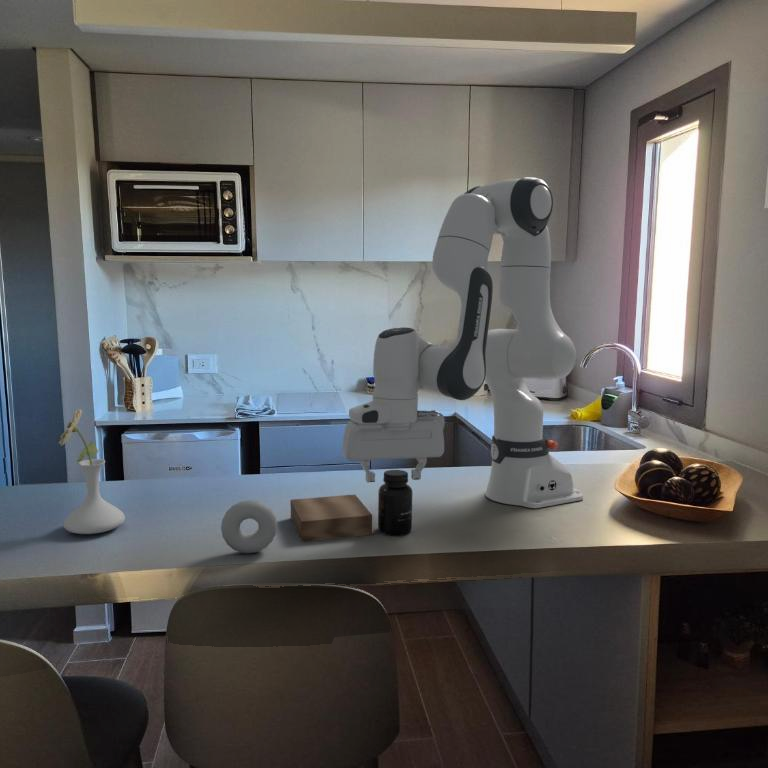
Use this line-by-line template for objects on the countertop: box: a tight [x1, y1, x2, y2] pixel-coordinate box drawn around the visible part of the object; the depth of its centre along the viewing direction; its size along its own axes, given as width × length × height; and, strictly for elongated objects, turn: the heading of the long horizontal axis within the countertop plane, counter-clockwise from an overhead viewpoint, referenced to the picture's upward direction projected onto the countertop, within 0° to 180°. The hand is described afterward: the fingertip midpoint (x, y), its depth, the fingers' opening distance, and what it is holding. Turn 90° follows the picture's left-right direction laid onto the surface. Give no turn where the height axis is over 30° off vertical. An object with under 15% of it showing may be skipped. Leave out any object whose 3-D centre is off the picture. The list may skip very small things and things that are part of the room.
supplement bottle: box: [377, 469, 413, 537], centre depth 134 cm, size 7×7×12 cm
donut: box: [220, 499, 278, 555], centre depth 122 cm, size 10×4×10 cm, turn 100°
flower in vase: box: [58, 408, 126, 535], centre depth 132 cm, size 13×11×25 cm
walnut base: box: [290, 494, 373, 542], centre depth 137 cm, size 14×14×4 cm
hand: (393, 480), depth 133 cm, fingers open, 8 cm apart
